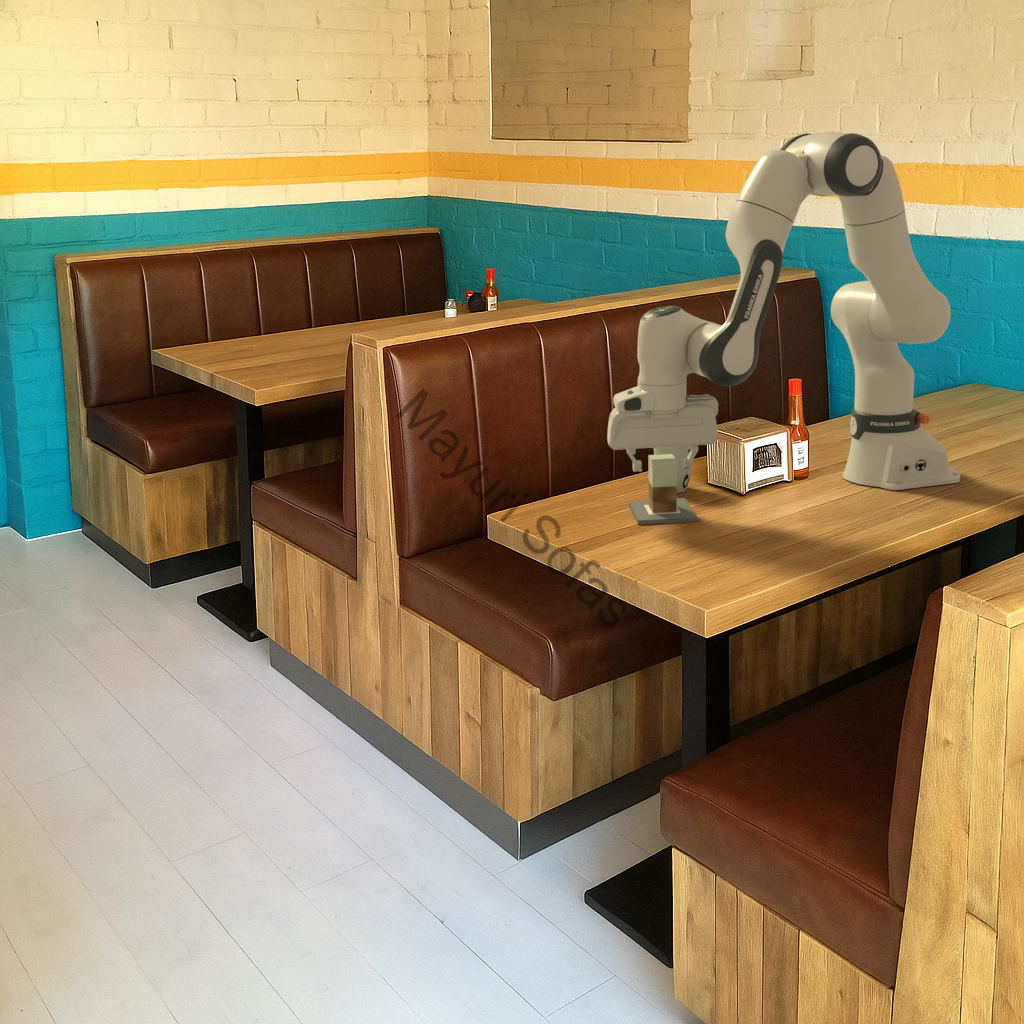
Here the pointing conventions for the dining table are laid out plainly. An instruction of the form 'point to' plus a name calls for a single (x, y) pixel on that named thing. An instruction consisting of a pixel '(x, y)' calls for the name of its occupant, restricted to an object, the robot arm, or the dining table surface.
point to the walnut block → (663, 499)
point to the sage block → (662, 470)
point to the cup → (678, 464)
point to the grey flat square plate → (647, 517)
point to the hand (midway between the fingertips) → (662, 469)
